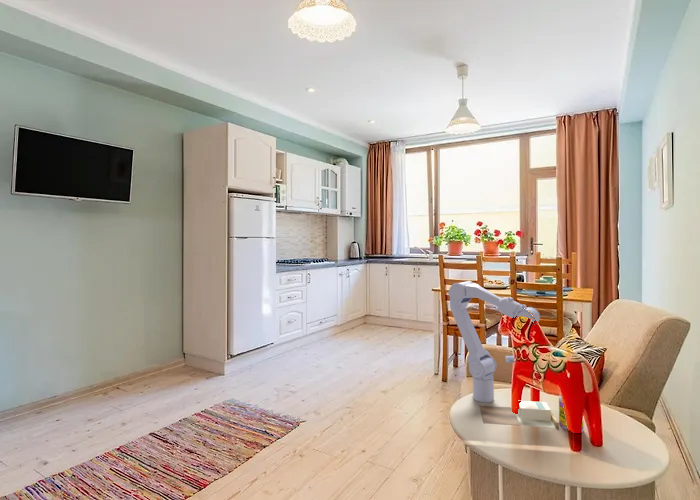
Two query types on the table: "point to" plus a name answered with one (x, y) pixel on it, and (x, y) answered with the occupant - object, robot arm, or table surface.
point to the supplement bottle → (563, 415)
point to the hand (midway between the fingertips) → (529, 384)
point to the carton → (534, 410)
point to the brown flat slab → (512, 418)
